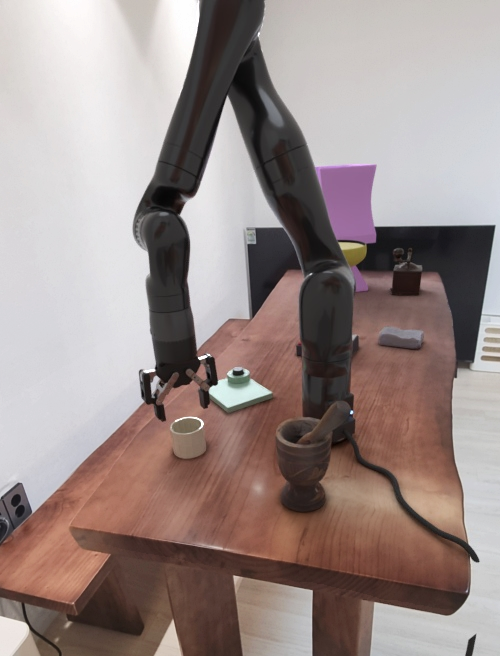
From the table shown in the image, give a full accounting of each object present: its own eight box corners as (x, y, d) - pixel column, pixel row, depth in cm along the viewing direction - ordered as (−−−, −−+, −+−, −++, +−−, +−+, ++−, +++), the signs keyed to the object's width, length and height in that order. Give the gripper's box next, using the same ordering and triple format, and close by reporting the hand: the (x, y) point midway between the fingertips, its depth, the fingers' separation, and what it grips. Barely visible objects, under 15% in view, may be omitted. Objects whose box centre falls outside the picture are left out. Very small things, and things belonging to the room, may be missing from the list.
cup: (212, 451, 90) (209, 427, 88) (181, 462, 87) (177, 438, 85) (197, 437, 95) (194, 413, 93) (168, 447, 92) (164, 423, 90)
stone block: (384, 340, 142) (376, 345, 133) (386, 324, 140) (378, 328, 132) (424, 346, 137) (418, 351, 128) (427, 330, 135) (422, 334, 127)
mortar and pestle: (353, 490, 78) (359, 383, 68) (343, 525, 71) (348, 410, 61) (286, 478, 81) (283, 375, 72) (271, 510, 74) (265, 400, 65)
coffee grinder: (390, 288, 187) (394, 241, 179) (419, 288, 184) (425, 241, 176) (388, 298, 174) (392, 249, 166) (419, 299, 171) (425, 249, 163)
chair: (303, 283, 201) (302, 167, 180) (352, 278, 204) (357, 163, 183) (318, 296, 182) (319, 168, 161) (372, 291, 185) (380, 164, 164)
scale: (273, 397, 109) (273, 386, 107) (228, 413, 103) (227, 401, 102) (242, 377, 120) (242, 366, 118) (200, 390, 114) (198, 379, 113)
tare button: (245, 374, 115) (245, 369, 114) (236, 377, 114) (235, 371, 113) (240, 371, 117) (239, 365, 116) (231, 374, 116) (230, 368, 115)
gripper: (140, 347, 75) (155, 433, 82) (219, 329, 81) (226, 410, 88) (126, 334, 80) (141, 416, 88) (201, 318, 87) (209, 395, 94)
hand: (183, 413), depth 88 cm, fingers open, 8 cm apart
